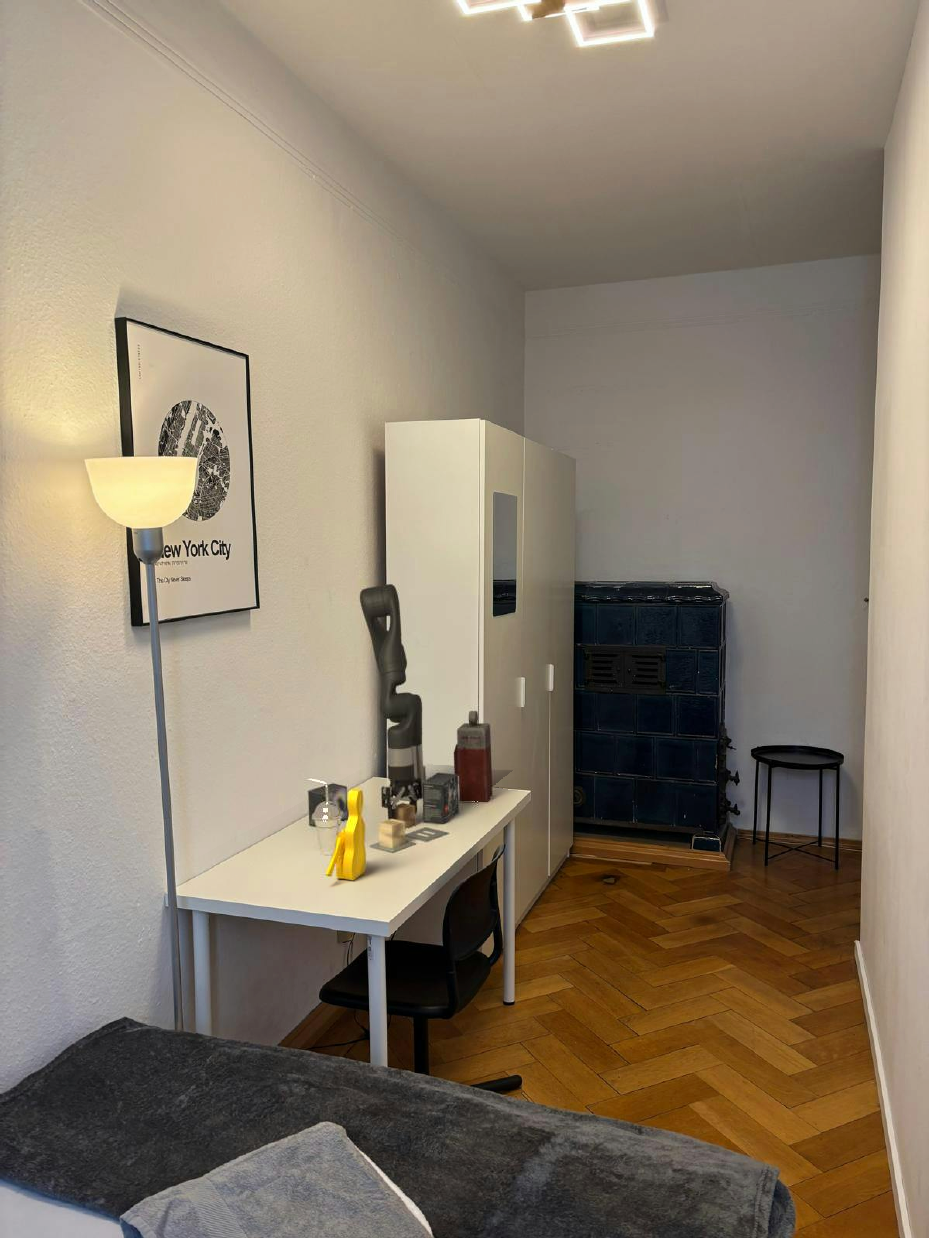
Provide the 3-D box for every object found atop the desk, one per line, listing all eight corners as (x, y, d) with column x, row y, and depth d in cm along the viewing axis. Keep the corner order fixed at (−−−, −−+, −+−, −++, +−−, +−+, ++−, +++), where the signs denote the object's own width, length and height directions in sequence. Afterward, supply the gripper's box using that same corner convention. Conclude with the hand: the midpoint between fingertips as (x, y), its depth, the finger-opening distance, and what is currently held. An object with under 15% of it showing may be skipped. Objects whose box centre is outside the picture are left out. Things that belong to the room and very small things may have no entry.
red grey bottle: (458, 794, 309) (455, 708, 306) (492, 794, 306) (489, 708, 304) (452, 801, 300) (448, 713, 298) (487, 802, 297) (484, 713, 295)
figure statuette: (353, 863, 245) (349, 779, 243) (381, 866, 242) (377, 780, 241) (319, 887, 229) (315, 797, 227) (348, 890, 226) (344, 799, 224)
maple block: (392, 840, 262) (391, 818, 262) (405, 843, 259) (404, 821, 258) (379, 844, 258) (378, 823, 258) (392, 848, 255) (391, 826, 255)
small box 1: (323, 829, 276) (322, 793, 275) (308, 825, 280) (306, 790, 279) (349, 819, 284) (347, 785, 284) (333, 816, 288) (332, 782, 287)
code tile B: (393, 838, 265) (393, 836, 265) (416, 844, 259) (416, 842, 259) (369, 846, 258) (369, 845, 258) (392, 852, 252) (392, 851, 252)
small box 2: (444, 824, 276) (443, 784, 275) (422, 823, 278) (421, 782, 277) (459, 812, 289) (458, 773, 288) (438, 810, 291) (436, 771, 290)
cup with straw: (327, 859, 249) (323, 784, 247) (305, 853, 255) (301, 779, 253) (352, 851, 255) (348, 777, 253) (330, 844, 261) (326, 772, 259)
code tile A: (425, 828, 273) (425, 826, 273) (448, 833, 267) (448, 832, 267) (403, 836, 267) (403, 834, 267) (426, 841, 261) (426, 840, 261)
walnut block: (403, 823, 279) (402, 802, 279) (415, 825, 276) (414, 805, 276) (391, 827, 276) (390, 806, 275) (403, 830, 272) (402, 809, 272)
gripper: (408, 755, 282) (411, 809, 283) (373, 765, 271) (375, 821, 273) (427, 759, 277) (429, 813, 278) (391, 768, 266) (394, 826, 268)
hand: (402, 817), depth 276 cm, fingers open, 8 cm apart
